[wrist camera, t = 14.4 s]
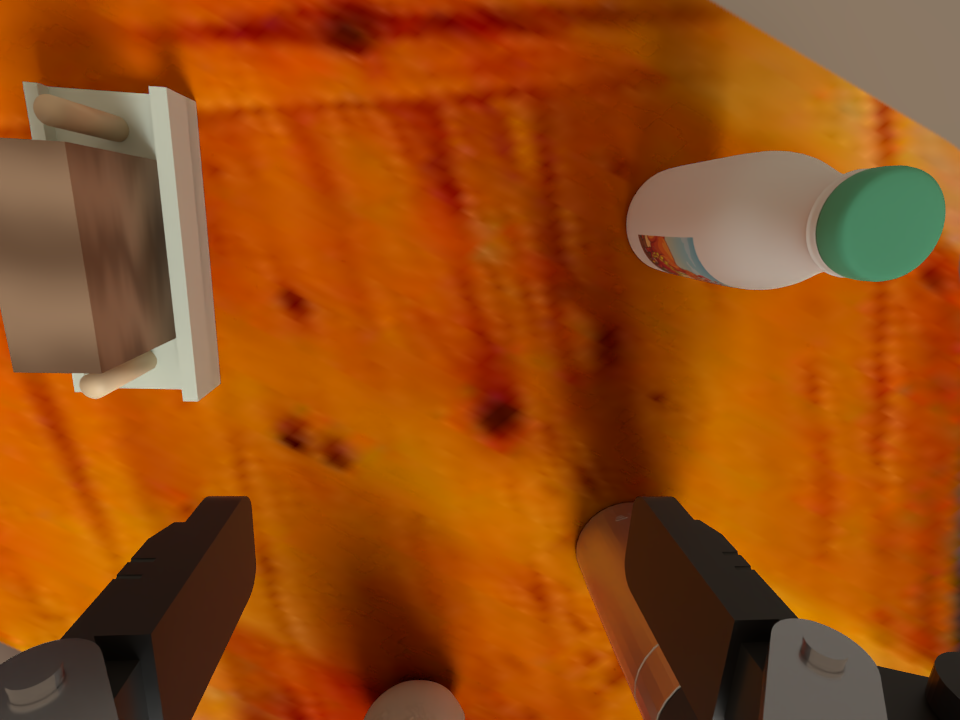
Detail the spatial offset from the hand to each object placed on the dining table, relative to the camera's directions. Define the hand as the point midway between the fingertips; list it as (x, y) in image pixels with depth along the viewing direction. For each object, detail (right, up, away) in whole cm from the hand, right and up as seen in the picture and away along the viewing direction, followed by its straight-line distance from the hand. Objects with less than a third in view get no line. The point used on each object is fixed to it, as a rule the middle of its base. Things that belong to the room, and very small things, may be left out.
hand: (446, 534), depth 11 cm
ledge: (-23, +12, +26) cm, 37 cm away
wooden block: (-23, +11, +24) cm, 35 cm away
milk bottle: (+15, +14, +29) cm, 36 cm away
